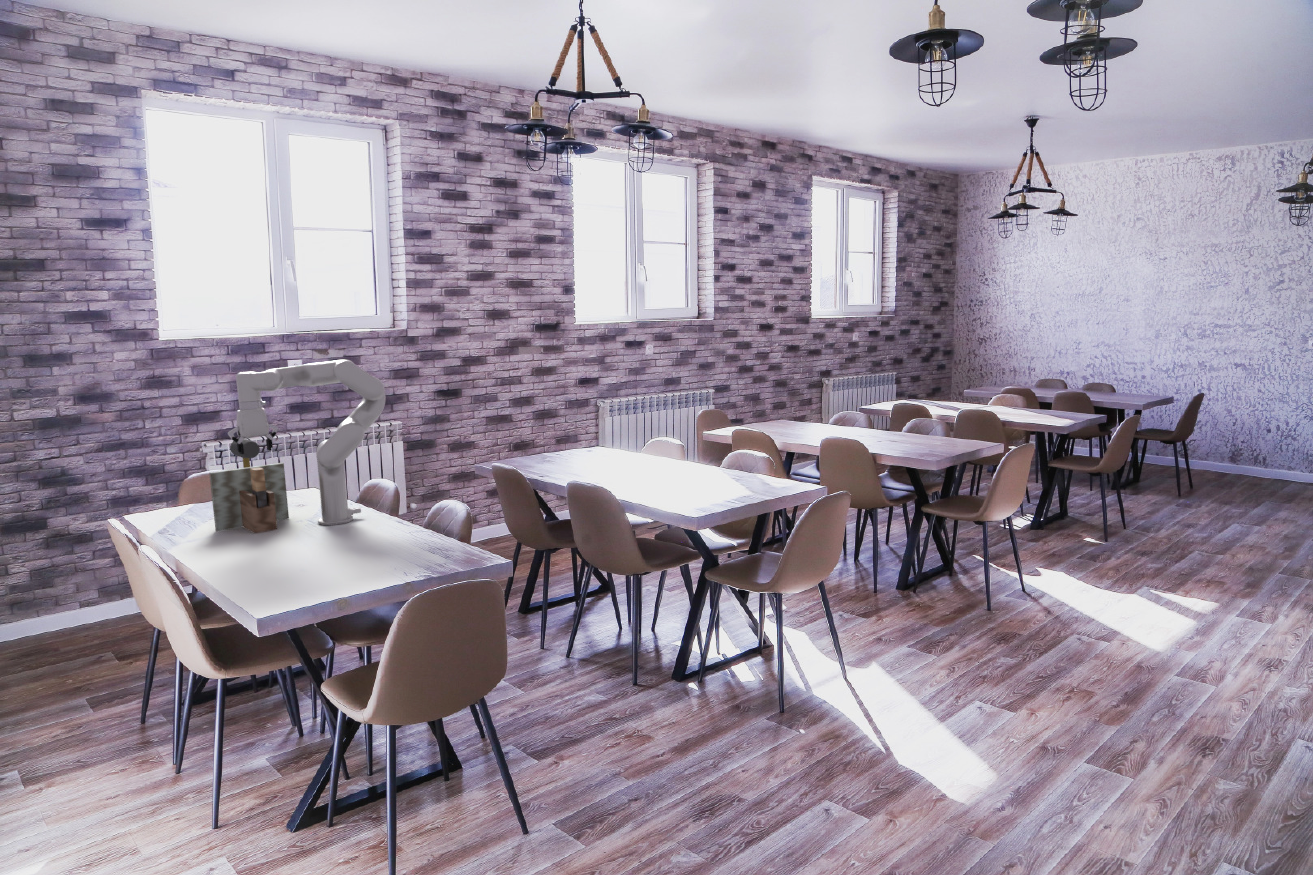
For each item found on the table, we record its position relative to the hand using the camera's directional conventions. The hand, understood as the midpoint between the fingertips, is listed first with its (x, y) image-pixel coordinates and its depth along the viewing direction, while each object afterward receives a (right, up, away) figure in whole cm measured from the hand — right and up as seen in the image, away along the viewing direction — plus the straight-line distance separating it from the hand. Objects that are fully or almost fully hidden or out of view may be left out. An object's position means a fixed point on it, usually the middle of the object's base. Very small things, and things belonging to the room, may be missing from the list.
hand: (255, 452), depth 312 cm
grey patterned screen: (-2, -29, +7) cm, 29 cm away
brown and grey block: (0, -20, +3) cm, 20 cm away
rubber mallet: (-17, -25, +33) cm, 45 cm away
